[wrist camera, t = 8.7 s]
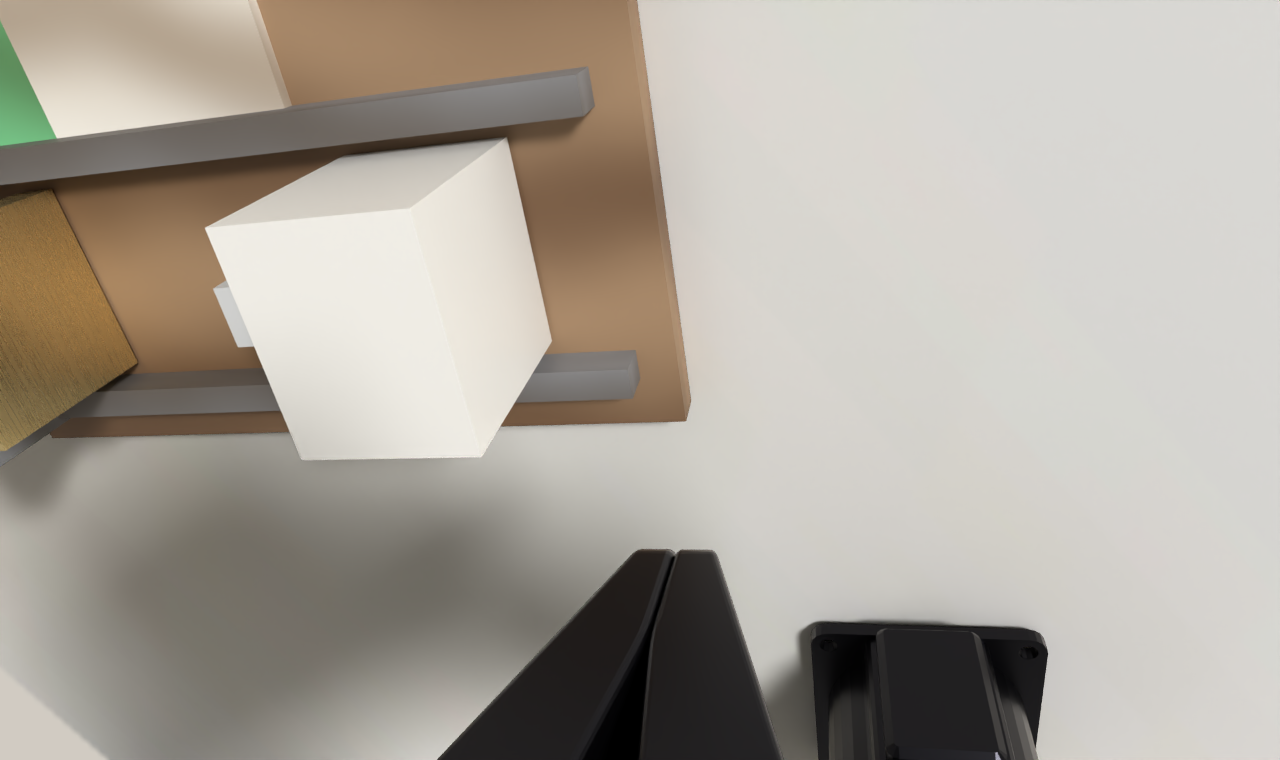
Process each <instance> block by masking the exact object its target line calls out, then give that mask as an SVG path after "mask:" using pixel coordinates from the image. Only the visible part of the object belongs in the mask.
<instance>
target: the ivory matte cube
mask: <svg viewBox="0 0 1280 760" xmlns="http://www.w3.org/2000/svg"><path fill="white" fill-rule="evenodd" d="M205 230H206V232H207V235H208V237H209V239H210V242H211V244H212V247H213V249H214V251H215V254H216V256H217V259H218V261H219V263H220V266H221V268H222V271H223V273H224V275H225V278H226V281H224V282H223V283H221V284H220V285H218V286H216V287H215V288H213V290H214V292H215V295H216V297H217V299H218V302H219V304H220V306H221V309H222V311H223V313H224V316H225V318H226V320H227V323H228V325H229V328H230V330H231V332H232V335H233V337H234V339H235V342H236V344H237V346H238V347H253V346H254V347H255V350H256V352H257V355H258V357H259V359H260V362H261V364H262V367H263V369H264V371H265V374H266V376H267V379H268V381H269V383H270V386H271V388H272V391H273V393H274V395H275V398H276V400H277V403H278V405H279V407H280V410H281V412H282V414H283V417H284V419H285V422H286V424H287V426H288V429H289V431H290V434H291V436H292V438H293V441H294V443H295V446H296V448H297V450H298V453H299V455H300V458H301V460H349V459H407V458H465V457H482V456H483V454H484V452H485V451H486V449H487V447H488V446H489V444H490V442H491V441H492V439H493V438H494V436H495V434H496V433H497V431H498V429H499V428H500V426H501V424H502V423H503V421H504V419H505V418H506V416H507V414H508V413H509V411H510V410H511V408H512V406H513V405H514V403H515V401H516V400H517V398H518V396H519V395H520V393H521V391H522V390H523V388H524V387H525V385H526V383H527V382H528V380H529V378H530V377H531V375H532V373H533V372H534V370H535V368H536V367H537V365H538V363H539V362H540V360H541V359H542V357H543V355H544V354H545V352H546V350H547V349H548V347H549V345H550V344H551V342H552V339H551V334H550V330H549V325H548V321H547V316H546V312H545V307H544V303H543V298H542V294H541V289H540V285H539V280H538V275H537V271H536V266H535V262H534V257H533V253H532V248H531V244H530V239H529V235H528V230H527V226H526V221H525V217H524V212H523V207H522V203H521V198H520V194H519V189H518V185H517V180H516V176H515V171H514V167H513V162H512V158H511V153H510V149H509V144H508V140H507V137H501V138H492V139H484V140H475V141H466V142H458V143H449V144H440V145H431V146H423V147H414V148H405V149H396V150H388V151H379V152H370V153H361V154H353V155H344V156H342V157H340V158H338V159H336V160H334V161H333V162H331V163H329V164H327V165H325V166H323V167H321V168H319V169H317V170H315V171H313V172H311V173H309V174H308V175H306V176H304V177H302V178H300V179H298V180H296V181H294V182H292V183H290V184H288V185H286V186H284V187H282V188H281V189H279V190H277V191H275V192H273V193H271V194H269V195H267V196H265V197H263V198H261V199H259V200H257V201H256V202H254V203H252V204H250V205H248V206H246V207H244V208H242V209H240V210H238V211H236V212H234V213H232V214H231V215H229V216H227V217H225V218H223V219H221V220H219V221H217V222H215V223H213V224H211V225H209V226H207V227H206V228H205Z"/></svg>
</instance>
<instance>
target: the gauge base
mask: <svg viewBox="0 0 1280 760" xmlns="http://www.w3.org/2000/svg"><path fill="white" fill-rule="evenodd" d="M501 137H507V140H508V144H509V149H510V153H511V158H512V162H513V167H514V171H515V176H516V180H517V185H518V189H519V194H520V198H521V203H522V207H523V212H524V217H525V221H526V226H527V230H528V235H529V239H530V244H531V248H532V253H533V257H534V262H535V266H536V271H537V275H538V280H539V285H540V289H541V294H542V298H543V303H544V307H545V312H546V316H547V321H548V325H549V330H550V334H551V339H552V342H551V344H550V345H549V347H548V349H547V350H546V352H545V354H544V355H543V357H542V359H541V360H540V362H539V363H538V365H537V367H536V368H535V370H534V372H533V373H532V375H531V377H530V378H529V380H528V382H527V383H526V385H525V387H524V388H523V390H522V391H521V393H520V395H519V396H518V398H517V400H516V401H515V403H514V405H513V406H512V408H511V410H510V411H509V413H508V414H507V416H506V418H505V419H504V421H503V423H502V424H501V426H528V425H565V424H603V423H641V422H678V421H686V419H687V415H688V411H689V407H690V403H691V397H690V390H689V382H688V375H687V367H686V360H685V352H684V345H683V338H682V330H681V323H680V315H679V308H678V301H677V293H676V286H675V278H674V271H673V264H672V256H671V249H670V241H669V234H668V227H667V219H666V212H665V204H664V197H663V190H662V182H661V175H660V167H659V160H658V153H657V145H656V138H655V130H654V123H653V116H652V108H651V101H650V93H649V86H648V79H647V71H646V64H645V56H644V49H643V41H642V34H641V27H640V19H639V12H638V4H637V0H0V200H1V199H3V198H6V197H9V196H12V195H15V194H17V193H21V192H30V191H38V190H47V189H52V191H53V193H54V195H55V197H56V199H57V201H58V203H59V205H60V207H61V209H62V211H63V213H64V215H65V217H66V219H67V221H68V223H69V225H70V227H71V229H72V231H73V233H74V235H75V237H76V239H77V241H78V243H79V245H80V247H81V249H82V251H83V253H84V255H85V257H86V259H87V261H88V263H89V265H90V267H91V269H92V271H93V273H94V275H95V277H96V279H97V281H98V283H99V285H100V287H101V289H102V291H103V293H104V295H105V297H106V299H107V301H108V303H109V305H110V307H111V309H112V312H113V314H114V316H115V318H116V320H117V322H118V324H119V326H120V328H121V330H122V332H123V334H124V336H125V338H126V340H127V342H128V344H129V346H130V348H131V350H132V352H133V354H134V356H135V358H136V360H137V362H138V363H137V364H135V365H134V366H132V367H131V368H129V369H128V370H126V371H125V372H123V373H122V374H120V375H119V376H117V377H116V378H114V379H113V380H111V381H110V382H108V383H107V384H105V385H104V386H102V387H101V388H99V389H98V390H96V391H95V392H93V393H92V394H90V395H89V396H87V397H86V398H84V399H83V400H81V401H80V402H78V403H77V404H75V405H74V406H72V407H71V408H69V409H68V410H66V411H65V412H63V413H62V414H60V415H59V416H57V417H56V418H54V419H53V420H51V421H50V422H48V423H47V424H45V425H44V426H42V427H41V428H39V429H38V430H36V431H35V432H33V433H32V434H30V435H29V436H27V437H26V438H24V439H23V440H21V441H20V442H18V443H17V444H15V445H14V446H12V447H11V448H9V449H8V450H6V451H0V466H2V465H3V464H5V463H6V462H8V461H9V460H11V459H12V458H14V457H15V456H17V455H18V454H19V453H21V452H22V451H24V450H25V449H27V448H28V447H30V446H31V445H33V444H34V443H36V442H37V441H39V440H40V439H41V438H43V437H44V436H46V435H47V434H49V433H50V435H51V436H52V438H76V437H114V436H152V435H189V434H227V433H265V432H290V431H289V429H288V426H287V424H286V422H285V419H284V417H283V414H282V412H281V410H280V407H279V405H278V403H277V400H276V398H275V395H274V393H273V391H272V388H271V386H270V383H269V381H268V379H267V376H266V374H265V371H264V369H263V367H262V364H261V362H260V359H259V357H258V355H257V352H256V350H255V347H254V346H253V347H238V346H237V344H236V342H235V339H234V337H233V335H232V332H231V330H230V328H229V325H228V323H227V320H226V318H225V316H224V313H223V311H222V309H221V306H220V304H219V302H218V299H217V297H216V295H215V292H214V290H213V288H215V287H216V286H218V285H220V284H221V283H223V282H224V281H226V278H225V275H224V273H223V271H222V268H221V266H220V263H219V261H218V259H217V256H216V254H215V251H214V249H213V247H212V244H211V242H210V239H209V237H208V235H207V232H206V230H205V228H206V227H207V226H209V225H211V224H213V223H215V222H217V221H219V220H221V219H223V218H225V217H227V216H229V215H231V214H232V213H234V212H236V211H238V210H240V209H242V208H244V207H246V206H248V205H250V204H252V203H254V202H256V201H257V200H259V199H261V198H263V197H265V196H267V195H269V194H271V193H273V192H275V191H277V190H279V189H281V188H282V187H284V186H286V185H288V184H290V183H292V182H294V181H296V180H298V179H300V178H302V177H304V176H306V175H308V174H309V173H311V172H313V171H315V170H317V169H319V168H321V167H323V166H325V165H327V164H329V163H331V162H333V161H334V160H336V159H338V158H340V157H342V156H344V155H353V154H361V153H370V152H379V151H388V150H396V149H405V148H414V147H423V146H431V145H440V144H449V143H458V142H466V141H475V140H484V139H492V138H501Z"/></svg>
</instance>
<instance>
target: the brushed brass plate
mask: <svg viewBox="0 0 1280 760" xmlns="http://www.w3.org/2000/svg"><path fill="white" fill-rule="evenodd" d="M137 363H138V362H137V360H136V358H135V356H134V354H133V352H132V350H131V348H130V346H129V344H128V342H127V340H126V338H125V336H124V334H123V332H122V330H121V328H120V326H119V324H118V322H117V320H116V318H115V316H114V314H113V312H112V309H111V307H110V305H109V303H108V301H107V299H106V297H105V295H104V293H103V291H102V289H101V287H100V285H99V283H98V281H97V279H96V277H95V275H94V273H93V271H92V269H91V267H90V265H89V263H88V261H87V259H86V257H85V255H84V253H83V251H82V249H81V247H80V245H79V243H78V241H77V239H76V237H75V235H74V233H73V231H72V229H71V227H70V225H69V223H68V221H67V219H66V217H65V215H64V213H63V211H62V209H61V207H60V205H59V203H58V201H57V199H56V197H55V195H54V193H53V191H52V189H47V190H38V191H30V192H21V193H17V194H15V195H12V196H9V197H6V198H3V199H1V200H0V451H6V450H8V449H9V448H11V447H12V446H14V445H15V444H17V443H18V442H20V441H21V440H23V439H24V438H26V437H27V436H29V435H30V434H32V433H33V432H35V431H36V430H38V429H39V428H41V427H42V426H44V425H45V424H47V423H48V422H50V421H51V420H53V419H54V418H56V417H57V416H59V415H60V414H62V413H63V412H65V411H66V410H68V409H69V408H71V407H72V406H74V405H75V404H77V403H78V402H80V401H81V400H83V399H84V398H86V397H87V396H89V395H90V394H92V393H93V392H95V391H96V390H98V389H99V388H101V387H102V386H104V385H105V384H107V383H108V382H110V381H111V380H113V379H114V378H116V377H117V376H119V375H120V374H122V373H123V372H125V371H126V370H128V369H129V368H131V367H132V366H134V365H135V364H137Z"/></svg>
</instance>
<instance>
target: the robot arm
mask: <svg viewBox="0 0 1280 760" xmlns="http://www.w3.org/2000/svg"><path fill="white" fill-rule="evenodd" d="M824 640H833V641H829V642H828V641H824ZM1029 646H1030V648H1026V649H1024V647H1029ZM811 649H812V665H813V680H814V696H815V712H816V727H817V743H818V759H819V760H1038V756H1037V752H1036V742H1037V734H1038V726H1039V719H1040V711H1041V703H1042V696H1043V688H1044V680H1045V673H1046V665H1047V657H1048V651H1047V647H1046V644H1045V641H1044V638H1043V637H1042V635H1041V634H1040V633H1038V632H1036V631H1033V630H1027V629H995V628H962V627H929V626H896V625H863V624H831V623H827V624H820V625H818V626H816V627H815V628H814V629H813V630H812V634H811ZM437 760H784V758H783V755H782V752H781V749H780V746H779V743H778V740H777V737H776V734H775V731H774V728H773V725H772V722H771V719H770V715H769V712H768V709H767V706H766V703H765V700H764V697H763V694H762V691H761V688H760V685H759V682H758V679H757V676H756V673H755V669H754V666H753V663H752V660H751V657H750V654H749V651H748V648H747V645H746V642H745V639H744V636H743V633H742V630H741V627H740V623H739V620H738V617H737V614H736V611H735V608H734V605H733V602H732V599H731V596H730V593H729V590H728V587H727V584H726V581H725V577H724V574H723V571H722V568H721V565H720V562H719V559H718V556H717V554H716V553H715V552H714V551H713V550H680V551H679V552H677V553H676V554H675V552H673V551H672V550H669V549H640V550H637V551H636V552H634V553H633V554H632V555H631V556H630V557H629V558H628V559H627V560H626V561H625V562H624V563H623V564H622V565H621V566H620V567H619V568H618V570H617V571H616V572H615V573H614V574H613V575H612V576H611V577H610V578H609V579H608V580H607V581H606V582H605V583H604V584H603V585H602V586H601V587H600V588H599V590H598V591H597V592H596V593H595V594H594V595H593V596H592V597H591V598H590V599H589V600H588V601H587V602H586V603H585V604H584V605H583V606H582V607H581V608H580V610H579V611H578V612H577V613H576V614H575V615H574V616H573V617H572V618H571V619H570V620H569V621H568V622H567V623H566V624H565V625H564V626H563V627H562V628H561V630H560V631H559V632H558V633H557V634H556V635H555V636H554V637H553V638H552V639H551V640H550V641H549V642H548V643H547V644H546V645H545V646H544V647H543V648H542V650H541V651H540V652H539V653H538V654H537V655H536V656H535V657H534V658H533V659H532V660H531V661H530V662H529V663H528V664H527V665H526V666H525V667H524V669H523V670H522V671H521V672H520V673H519V674H518V675H517V676H516V677H515V678H514V679H513V680H512V681H511V682H510V683H509V684H508V685H507V686H506V687H505V689H504V690H503V691H502V692H501V693H500V694H499V695H498V696H497V697H496V698H495V699H494V700H493V701H492V702H491V703H490V704H489V705H488V706H487V707H486V709H485V710H484V711H483V712H482V713H481V714H480V715H479V716H478V717H477V718H476V719H475V720H474V721H473V722H472V723H471V724H470V725H469V726H468V727H467V729H466V730H465V731H464V732H463V733H462V734H461V735H460V736H459V737H458V738H457V739H456V740H455V741H454V742H453V743H452V744H451V745H450V746H449V747H448V749H447V750H446V751H445V752H444V753H443V754H442V755H441V756H440V757H439V758H438V759H437Z"/></svg>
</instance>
